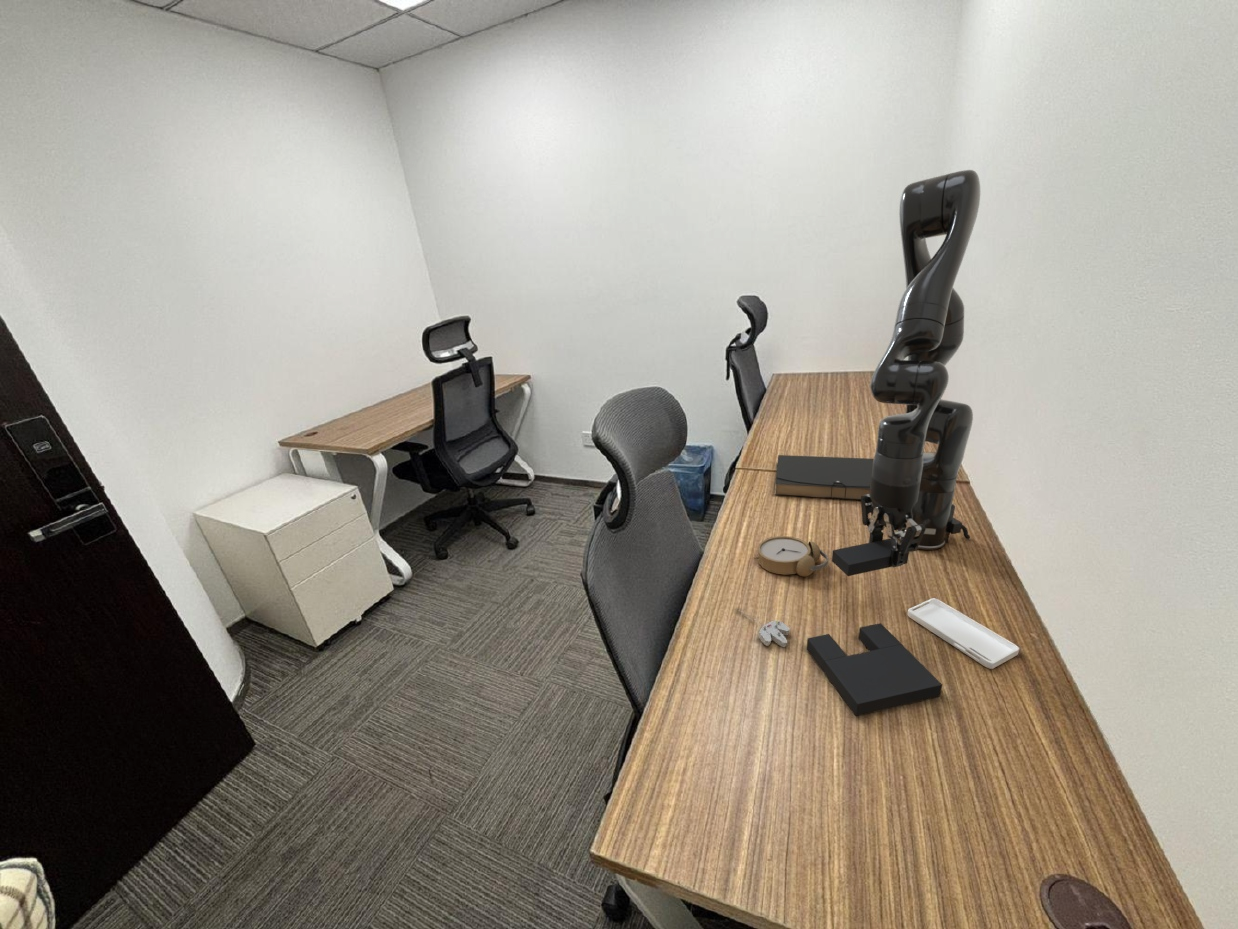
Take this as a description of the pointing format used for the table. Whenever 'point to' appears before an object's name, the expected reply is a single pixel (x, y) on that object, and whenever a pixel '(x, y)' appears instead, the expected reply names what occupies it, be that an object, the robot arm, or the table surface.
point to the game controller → (773, 633)
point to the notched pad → (874, 671)
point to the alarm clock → (789, 556)
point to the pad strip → (864, 557)
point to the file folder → (823, 477)
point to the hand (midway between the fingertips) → (885, 557)
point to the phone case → (964, 633)
